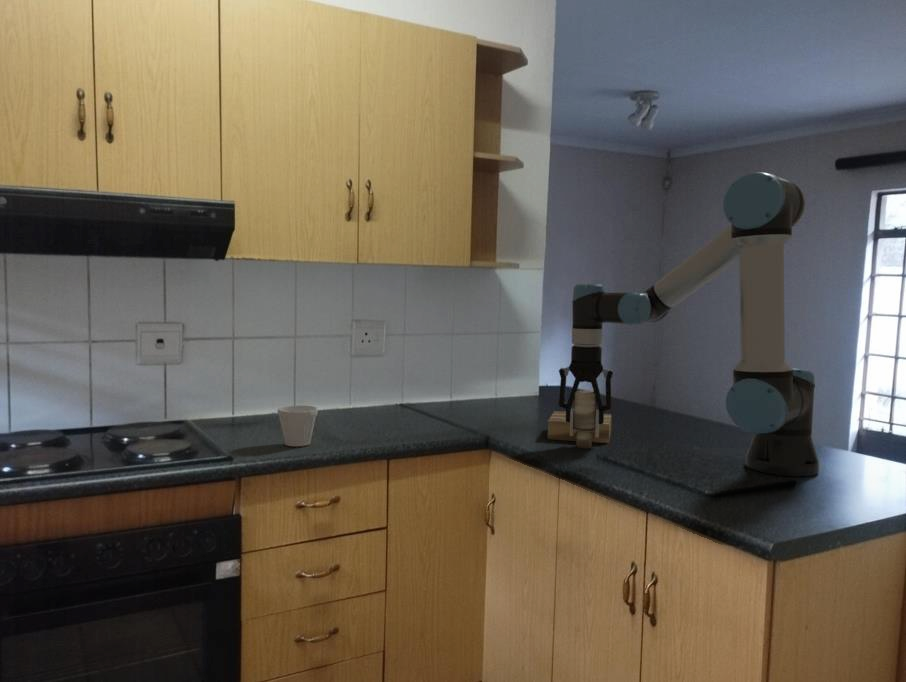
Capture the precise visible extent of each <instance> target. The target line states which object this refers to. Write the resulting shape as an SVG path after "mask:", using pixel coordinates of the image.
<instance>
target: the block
mask: <svg viewBox="0 0 906 682" xmlns="http://www.w3.org/2000/svg"><path fill="white" fill-rule="evenodd" d="M611 432H612V414H611V413H610V414H609V413H604V422H603V424H599V436H598V438H596V437H595V431H592V443H602V444H603V443H604V444H609V443H610V438H611V435H612V434H611ZM547 440H556V441H571V442H572V441H574V442H577V430H574V434H573V436H570V422H566V411H560V410H559V411H558V410H557V411H556V410H554V411H553V413H552V414H551V416H550V417H549V418H548V420H547Z"/></svg>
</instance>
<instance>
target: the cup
mask: <svg viewBox="0 0 906 682" xmlns="http://www.w3.org/2000/svg"><path fill="white" fill-rule="evenodd" d="M318 412H319V409H318V407H316V406H314V405H313V406H311V405H287V406H281V407H279V408H277V415H278V419H279V422H280V427H281V431H282V435H283V439H284V444H285V446H286V447H288V446H289V447H288V448H304V447H308V445H309V446H310V445H311V441H312V436H313V432H314V427H315V421H316V417H317V416H318Z"/></svg>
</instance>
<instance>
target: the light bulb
mask: <svg viewBox="0 0 906 682" xmlns="http://www.w3.org/2000/svg"><path fill="white" fill-rule="evenodd" d="M573 409H574V422H573V429H574V430H577V441H576V447H577V448H580V449H591V448H592V446H593V445H592V443H593V442H592V431H595V423H596V410H597V401H596V398H595V393H594V390H577V392H576V393H575V397H574V401H573Z"/></svg>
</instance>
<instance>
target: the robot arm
mask: <svg viewBox="0 0 906 682" xmlns="http://www.w3.org/2000/svg"><path fill="white" fill-rule="evenodd" d="M722 202H723V203H722V209H723V213H724V216H725V217H726V219H727V220H728V222H729V223H730V226H728V227H727V228H725V229H724V230H723V231H722V232H720V233H719V234H718V235H716V236H715V237H713V239H711V240H710V241H709V242H707V243H705V245H703V246H702V247H701V248H699V249H698V250H697V251H696V252H694V253H693V254H691V255H690V256H689V257H688V258H686V259H685V260H684V261H683V262H681V263H680V264H678V265H677V266H676V267H674V268H673V269H671V270H670V271H669V272H668V273H667V274H665V275H664V276H662V278H660V279H659V280H657V281H656V282H655V283H654V284H652V285H651V286H650V287H648V288H647V289H646V290H645V291H642V292H635V291H633V292H605V290H604V286H603V284H597V283H595V284H594V283H593V284H589V283H588V284H586V283H585V284H583V283H582V284H580V283H579V284H575V286H574V287H573V293H572V301H571V303H572V328H571V343H572V344H573V345H572V346H571V350H570V351H571V354H570V355H571V356H570V357H571V358H570V360H571V361H570V364H569V366H566V367H560V369H559V370H558V373H559V376H560V377H559V378H560V386H559V399H558V406H559V407H560V408H562V409H564V410H565V412H566V422H570V436H573V434H574V429H573V422H574V408H572V407H573V405H574V397H575V393H576V392H577V391H578V388H579V385H580V383H584V382H585V383H590V384H591V387H592V391H593V392H594V393H595V398H596V406H597V408H598V409H596V423H595V437H596V438H598V436H599V424H603V422H604V414H605V412H606V411H610V410H611V408H612V377H613V374H614V371H613V370H612V369H608V368H605V367H604V366H603V364H602V355H603V354H602V351H603V349H602V346H600V345H602V343H603V323H605V324H607V323H609V324H620V325H621V324H622V325H623V324H624V325H630V326H631V325H642V324H645V323H657V322H660V321H663V320H664V319H666V318H667V316H669V313H670V311H671V309H673V308H674V307H676V306H677V305H679V304H680V303H681V302H683V301H684V300H685V299H686V298H689V296H691V295H692V294H694V293H695V292H696V291H698V290H699V289H701V288H702V287H703V286H705V285H706V284H707V283H709V282H710V281H712V280H713V279H715V278H716V277H717V276H719V275H720V274H722V273H723V272H724V271H725V270H727V269H728V268H730V267H731V266H733V265H734V264H735V263H737V262H738V261H739V321H740V322H739V324H740V326H739V327H740V328H739V329H740V330H739V331H740V332H739V333H740V334H739V336H740V360H739V362H737V364H736V365H734V367H733V368H732V386H731V387H730V388H729V390H728V392H727V394H726V396H725V409H726V412H727V414H728V416H729V418H730V420H731V421H732V423H734V424H735V426H736V427H738V428H739V429H740V430H743V431H745V432H747V433H751V434H754V435H753V437H752V439H751V441H750V444H749V446H748V449H747V452H746V455H745V466H746V467H748V468H749V469H751V470H753V471H757V472H760V473H764V474H769V475H774V476H775V475H776V476H785V477H811V476H815V475H818V473H819V470H820V468H819V467H820V463H819V458H818V455H817V452H816V447H815V446H814V441H813V438H812V437H813V436H812V433H813V416H814V401H815V399H814V397H815V387H816V383H815V374H814V373H813V371H811V370H808V369H801V368H793V367H792V366H791V365H790V364H789V363H788V362H787V361H786V357H785V355H786V354H785V353H786V350H785V349H786V348H785V347H786V345H785V343H786V342H785V333H786V332H785V255H784V254H785V253H784V252H785V249H784V248H785V244H786V243H787V242H788V241H790V239H792V236H793V235H792V234H793V233H792V232H793V230H792V229H793V227H795V225H796V224H797V223H798V222H799V220H800V219H801V218H802V216H803V214H804V211H805V206H806V205H805V197H804V193H803V191H802V190H801V189H800V187H799V186H798V185H797V184H796V183H795V182H793V181H791V180H789V179H787V178H786V179H785V178H782V177H779V176H777V175H776V174H774V173H771V172H765V171H764V172H762V171H761V172H760V171H756V172H749V173H746V174H743V175H741V176H739V177H738V178H737V179H735V180H734V181H733V182H732V184H731V185H729V187H728V188H727V190H726V192H725V194H724V197H723V201H722ZM569 373H571V375H572V376H573V377H574V378H575V379H574V381H573V385H572V388H571V391H570V394H569V398H568V401H567V402H566V390H567V389H566V387H567V377H568V375H569ZM602 373H603V378H605V404H604V402H603V399H602V395H601V392H600V389H599V384H598V380H597V379H598V378H599V377H600V375H601V374H602Z"/></svg>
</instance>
